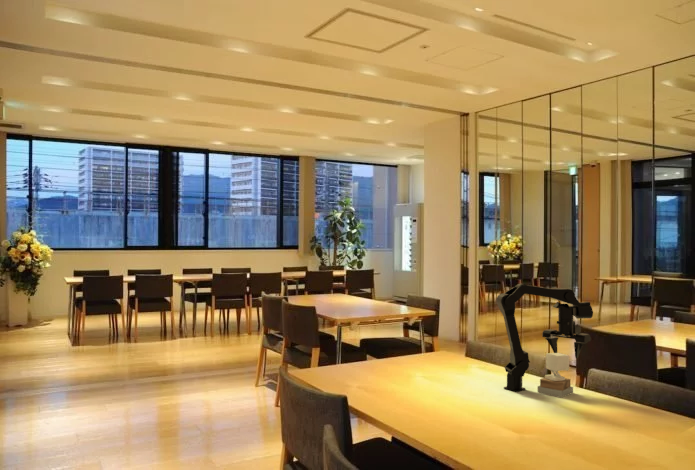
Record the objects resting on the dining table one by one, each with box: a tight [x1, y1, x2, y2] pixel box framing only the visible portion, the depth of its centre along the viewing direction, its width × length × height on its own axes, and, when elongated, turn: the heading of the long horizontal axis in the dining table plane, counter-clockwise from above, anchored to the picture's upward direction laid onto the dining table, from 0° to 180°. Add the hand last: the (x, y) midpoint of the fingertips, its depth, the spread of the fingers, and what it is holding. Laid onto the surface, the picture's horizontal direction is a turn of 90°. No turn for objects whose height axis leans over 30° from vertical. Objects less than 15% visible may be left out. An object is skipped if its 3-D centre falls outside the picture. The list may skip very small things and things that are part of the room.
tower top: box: [539, 376, 571, 391], centre depth 230 cm, size 9×9×3 cm
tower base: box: [537, 385, 574, 398], centre depth 230 cm, size 10×10×3 cm
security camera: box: [544, 352, 570, 381], centre depth 230 cm, size 6×7×10 cm
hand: (566, 356), depth 235 cm, fingers open, 9 cm apart
